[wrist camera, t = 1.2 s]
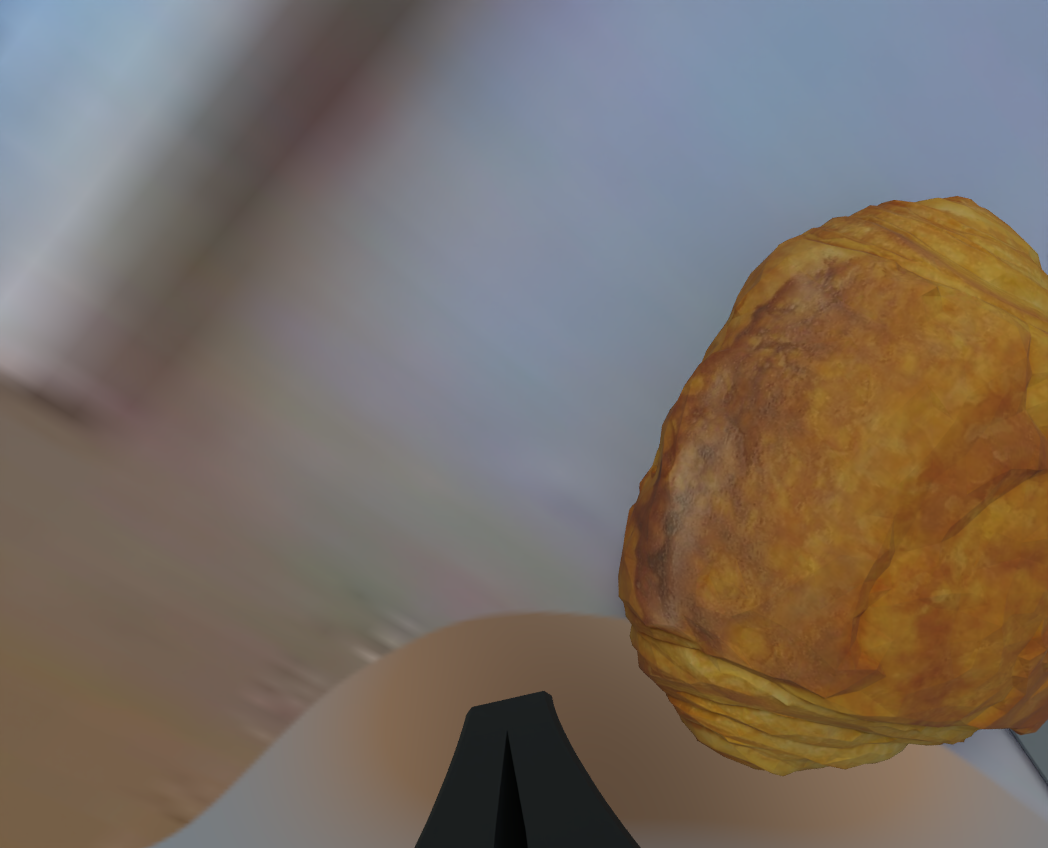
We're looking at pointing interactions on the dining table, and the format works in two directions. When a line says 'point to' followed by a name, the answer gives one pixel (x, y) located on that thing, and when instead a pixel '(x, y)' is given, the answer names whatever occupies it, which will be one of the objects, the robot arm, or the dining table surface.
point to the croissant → (856, 499)
